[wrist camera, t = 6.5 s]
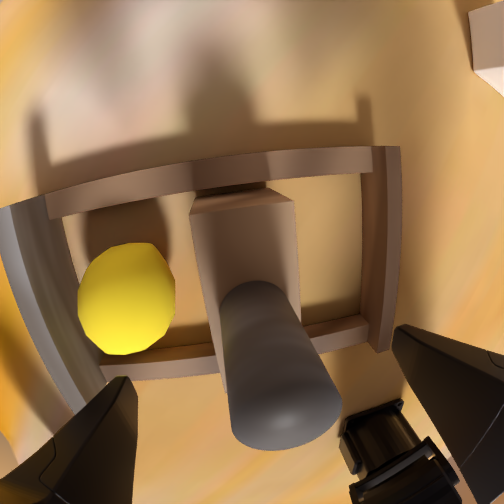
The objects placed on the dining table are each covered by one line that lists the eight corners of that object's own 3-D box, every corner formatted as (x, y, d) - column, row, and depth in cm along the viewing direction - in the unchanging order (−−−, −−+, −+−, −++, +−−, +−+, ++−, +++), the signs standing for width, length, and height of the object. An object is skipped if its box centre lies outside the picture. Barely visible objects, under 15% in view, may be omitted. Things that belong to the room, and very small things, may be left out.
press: (372, 146, 16) (423, 146, 12) (370, 327, 21) (403, 366, 16) (38, 196, 14) (-10, 212, 10) (94, 369, 19) (75, 416, 14)
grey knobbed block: (268, 187, 16) (374, 245, 6) (280, 327, 19) (342, 472, 8) (195, 197, 16) (167, 277, 5) (219, 337, 19) (237, 494, 8)
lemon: (118, 216, 16) (89, 225, 11) (197, 257, 18) (200, 283, 12) (80, 313, 17) (49, 352, 11) (151, 348, 18) (143, 398, 13)
